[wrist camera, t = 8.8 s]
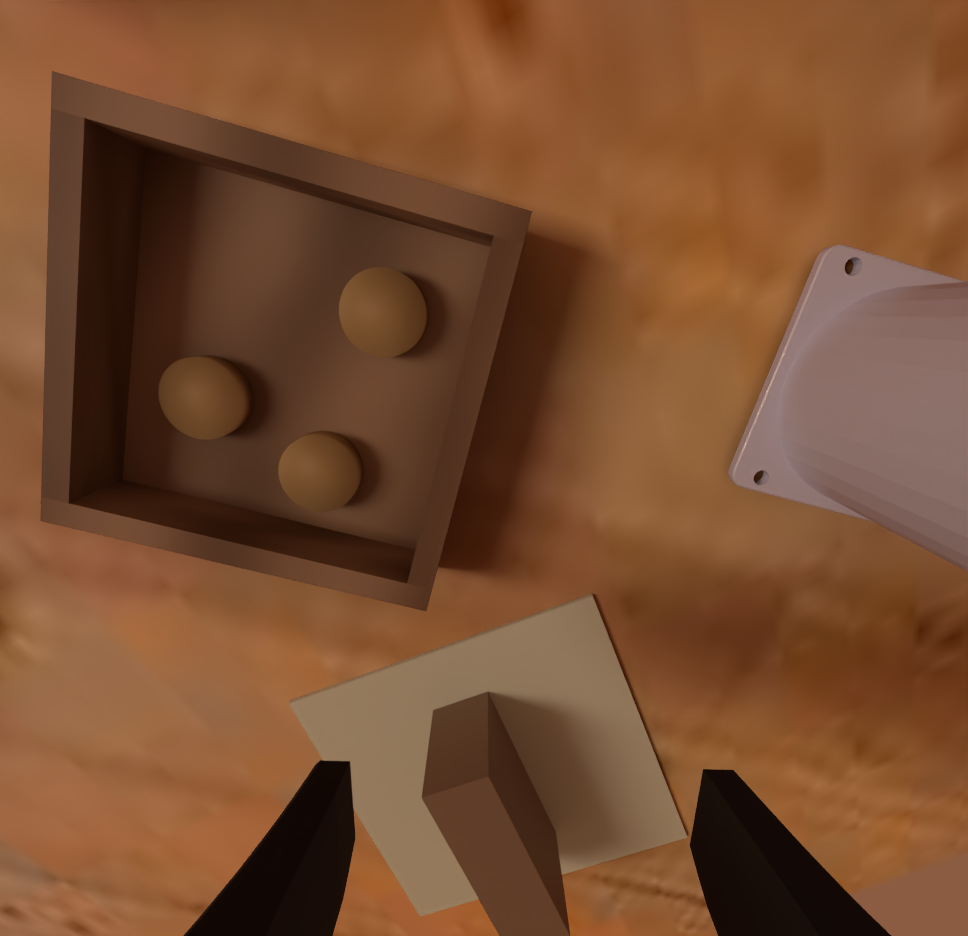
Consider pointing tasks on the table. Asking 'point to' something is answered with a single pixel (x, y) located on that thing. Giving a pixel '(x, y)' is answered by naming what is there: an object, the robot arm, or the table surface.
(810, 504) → the robot arm
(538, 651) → the lid
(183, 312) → the wooden tray
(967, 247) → the table surface
